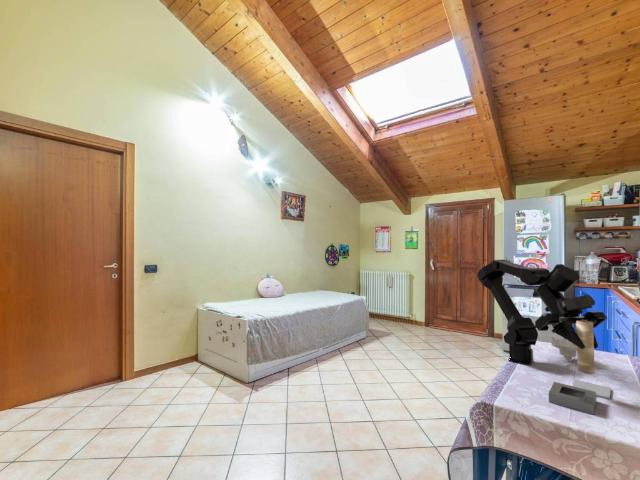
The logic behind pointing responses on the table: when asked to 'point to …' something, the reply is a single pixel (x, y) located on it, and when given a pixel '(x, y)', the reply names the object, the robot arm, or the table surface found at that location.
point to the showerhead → (565, 348)
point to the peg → (586, 354)
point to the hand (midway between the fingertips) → (590, 347)
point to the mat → (594, 388)
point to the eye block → (573, 397)
